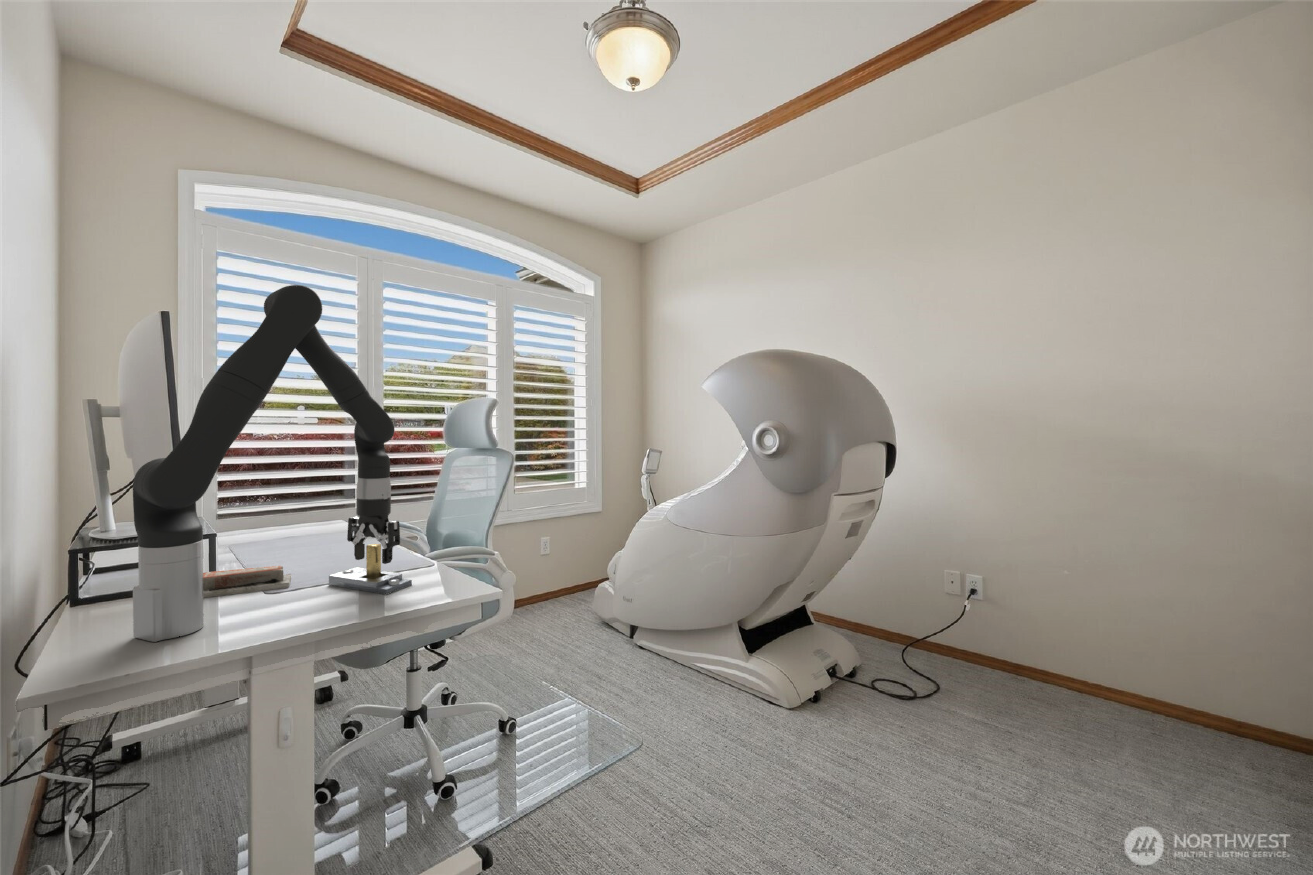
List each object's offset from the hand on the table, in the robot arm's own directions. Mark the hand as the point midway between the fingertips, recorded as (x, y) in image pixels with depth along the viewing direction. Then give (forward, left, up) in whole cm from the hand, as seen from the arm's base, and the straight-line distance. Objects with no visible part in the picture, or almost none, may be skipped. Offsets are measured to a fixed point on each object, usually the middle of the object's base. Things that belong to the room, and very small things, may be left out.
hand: (373, 561), depth 134 cm
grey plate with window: (0, 0, -6) cm, 6 cm away
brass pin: (0, 0, -6) cm, 6 cm away
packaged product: (-12, +27, -7) cm, 30 cm away
